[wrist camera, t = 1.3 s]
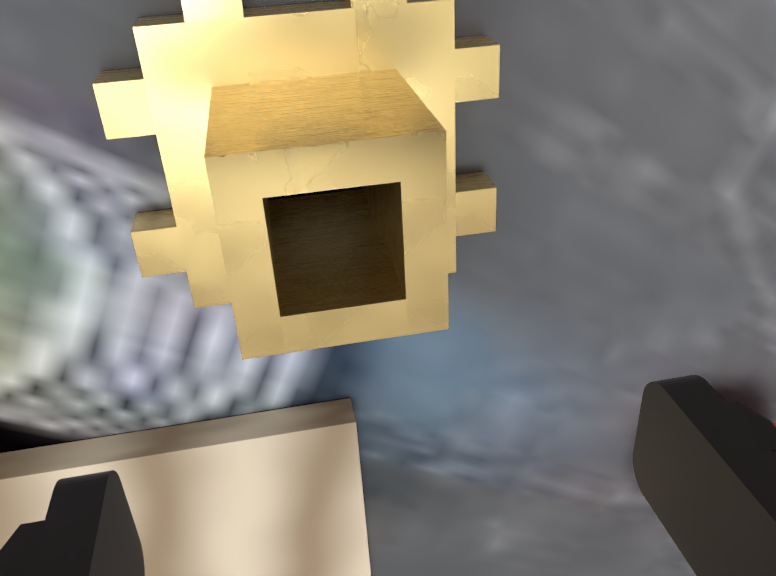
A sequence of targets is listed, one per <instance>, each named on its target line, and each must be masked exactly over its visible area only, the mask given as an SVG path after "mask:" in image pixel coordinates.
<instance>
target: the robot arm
mask: <svg viewBox="0 0 776 576" xmlns="http://www.w3.org/2000/svg"><path fill="white" fill-rule="evenodd" d="M633 466H634V472H635V476H636V479H637V483H638V485H639V488H640V490H641V492H642V493H643V495H644V497H645V498H646V500H647V501H648V503H649V504H650V506H651V507H652V509H653V510H654V512H655V513H656V515H657V516H658V518H659V519H660V521H661V522H662V524H663V525H664V527H665V529H666V530H667V532H668V533H669V535H670V536H671V538H672V539H673V541H674V542H675V544H676V545H677V547H678V548H679V550H680V551H681V553H682V554H683V556H684V557H685V559H686V560H687V562H688V563H689V565H690V566H691V568H692V569H693V571H694V572H695V574H696V575H697V576H776V427H775V426H774V425H773V423H772V422H771V421H769V420H767V419H766V418H764V417H762V416H761V415H759V414H757V413H755V412H754V411H752V410H750V409H749V408H747V407H745V406H743V405H742V404H740V403H738V402H732V403H726V402H725V400H724V399H723V398H722V397H721V396H720V395H719V394H718V393H717V392H716V391H715V390H714V389H713V388H712V386H711V385H710V384H709V383H708V382H707V381H706V380H705V379H704V378H702V377H700V376H698V375H690V376H684V377H678V378H672V379H666V380H660V381H654V382H650V383H648V384H647V385H646V387H645V389H644V392H643V397H642V403H641V409H640V415H639V421H638V427H637V433H636V440H635V446H634V452H633ZM0 576H145V567H144V557H143V550H142V545H141V541H140V538H139V535H138V532H137V529H136V526H135V523H134V520H133V517H132V514H131V510H130V507H129V504H128V501H127V498H126V495H125V492H124V489H123V486H122V483H121V480H120V477H119V475H118V473H117V472H116V471H115V470H111V471H105V472H99V473H93V474H87V475H81V476H75V477H69V478H63V479H59V480H58V481H57V482H56V484H55V486H54V489H53V493H52V496H51V500H50V503H49V507H48V511H47V514H46V518H45V520H42V521H37V522H31V523H25V524H20V525H19V527H18V528H17V529H16V531H15V532H14V533H13V534H12V536H11V537H10V538H9V539H8V541H7V542H6V543H5V545H4V546H3V547H2V548H1V550H0Z"/></svg>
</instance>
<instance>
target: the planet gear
mask: <svg viewBox="0 0 776 576" xmlns="http://www.w3.org/2000/svg"><path fill="white" fill-rule="evenodd" d="M181 3H182V9H183V14H176V15H164V16H152V17H141V18H138V20H137V21H136V23H135V24H134V26H133V31H134V36H135V40H136V45H137V50H138V54H139V59H140V63H141V68H132V69H121V70H111V71H101V72H100V74H99V75H98V77H97V78H96V80H95V81H94V83H93V88H94V92H95V96H96V100H97V103H98V107H99V111H100V115H101V119H102V123H103V127H104V131H105V135H106V138H107V139H116V138H126V137H135V136H144V135H154V134H156V136H157V140H158V145H159V149H160V154H161V158H162V163H163V167H164V172H165V176H166V181H167V185H168V190H169V194H170V199H171V203H172V208H173V209H167V210H159V211H150V212H142V213H136V216H135V219H134V223H133V226H132V230H131V236H132V240H133V243H134V247H135V251H136V255H137V259H138V263H139V267H140V271H141V274H142V277H149V276H156V275H164V274H172V273H179V272H187V276H188V280H189V285H190V289H191V294H192V299H193V303H194V308H199V307H206V306H214V305H221V304H228V303H232V307H233V312H234V317H235V323H236V328H237V333H238V338H239V344H240V349H241V354H242V359H249V358H256V357H263V356H269V355H276V354H283V353H290V352H297V351H303V350H310V349H317V348H324V347H330V346H337V345H344V344H351V343H357V342H364V341H371V340H378V339H384V338H391V337H398V336H405V335H412V334H418V333H425V332H432V331H439V330H445V329H449V315H448V273H454V272H456V236H462V235H469V234H477V233H485V232H492V231H495V230H496V189H497V188H496V186H495V185H494V184H493V183H492V182H491V180H490V179H489V178H488V177H487V175H486V174H485V173H484V172H476V173H468V174H459V175H455V102H464V101H473V100H483V99H492V98H499V66H500V44H498V43H497V42H495V41H494V40H492V39H491V38H489V37H487V36H486V35H480V36H470V37H459V38H455V20H454V0H339V1H327V2H315V3H304V4H292V5H280V6H269V7H257V8H246V9H243V3H242V0H181ZM360 186H362V189H357V190H349V191H340V192H332V193H324V194H315V195H307V196H299V197H290V198H282V199H274V200H268V197H277V196H285V195H293V194H302V193H310V192H318V191H327V190H335V189H344V188H352V187H360Z"/></svg>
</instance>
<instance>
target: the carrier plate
mask: <svg viewBox="0 0 776 576" xmlns="http://www.w3.org/2000/svg"><path fill="white" fill-rule="evenodd" d="M111 470H115V471H116V472H117V473H118V475H119V477H120V480H121V483H122V486H123V489H124V492H125V495H126V498H127V501H128V504H129V507H130V510H131V514H132V517H133V520H134V523H135V526H136V529H137V532H138V535H139V538H140V541H141V545H142V550H143V557H144V567H145V576H371V571H370V561H369V550H368V540H367V530H366V520H365V509H364V499H363V489H362V479H361V468H360V458H359V448H358V438H357V427H356V420H355V415H354V411H353V406H352V402H351V398H347V399H341V400H335V401H328V402H322V403H315V404H309V405H303V406H296V407H290V408H284V409H277V410H271V411H265V412H258V413H252V414H246V415H239V416H233V417H227V418H220V419H214V420H208V421H201V422H195V423H189V424H182V425H176V426H170V427H163V428H157V429H151V430H144V431H138V432H131V433H125V434H119V435H112V436H106V437H100V438H93V439H87V440H81V441H74V442H68V443H62V444H55V445H49V446H43V447H36V448H30V449H24V450H17V451H11V452H5V453H0V550H1V548H2V547H3V546H4V545H5V543H6V542H7V541H8V539H9V538H10V537H11V536H12V534H13V533H14V532H15V531H16V529H17V528H18V527H19V525H20V524H25V523H31V522H37V521H42V520H45V518H46V514H47V511H48V507H49V503H50V500H51V496H52V493H53V489H54V486H55V484H56V482H57V481H58V480H59V479H63V478H69V477H75V476H81V475H87V474H93V473H99V472H105V471H111Z"/></svg>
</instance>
